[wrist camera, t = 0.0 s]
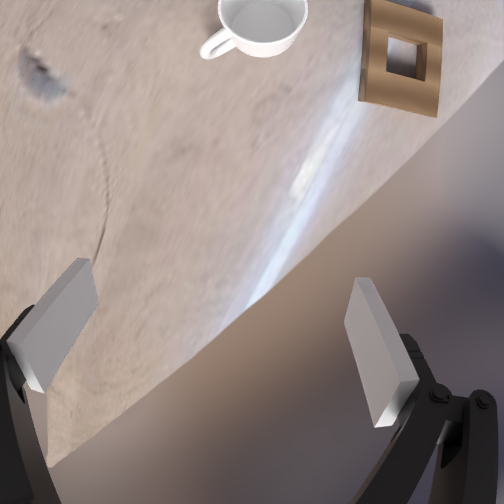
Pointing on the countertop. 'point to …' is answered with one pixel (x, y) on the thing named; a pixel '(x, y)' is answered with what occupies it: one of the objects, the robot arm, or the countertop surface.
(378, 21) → the socket
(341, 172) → the countertop surface
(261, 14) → the cup
